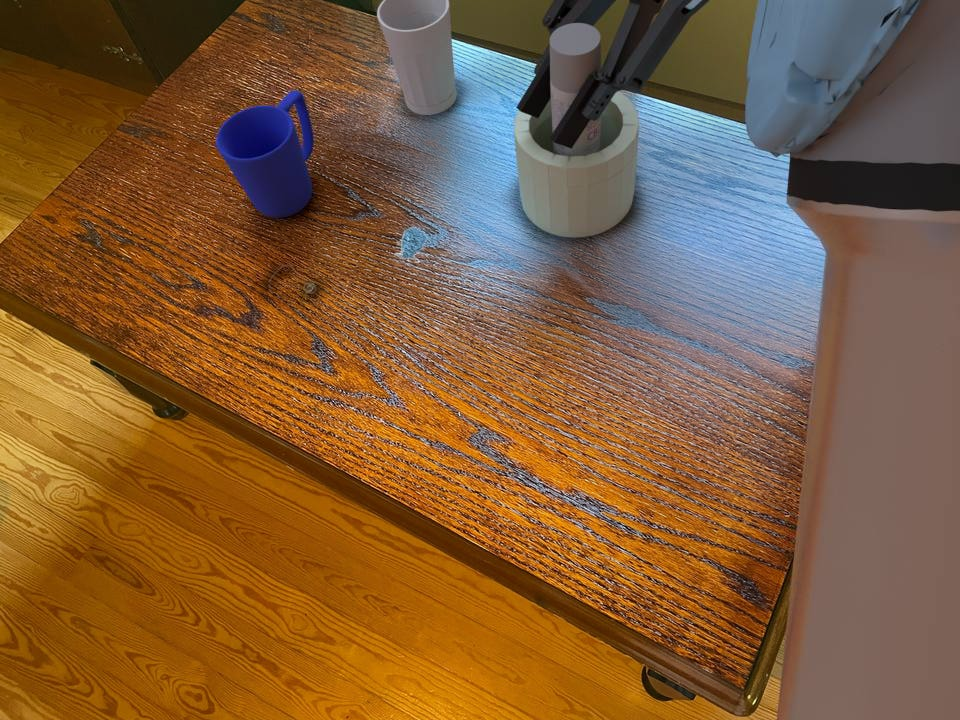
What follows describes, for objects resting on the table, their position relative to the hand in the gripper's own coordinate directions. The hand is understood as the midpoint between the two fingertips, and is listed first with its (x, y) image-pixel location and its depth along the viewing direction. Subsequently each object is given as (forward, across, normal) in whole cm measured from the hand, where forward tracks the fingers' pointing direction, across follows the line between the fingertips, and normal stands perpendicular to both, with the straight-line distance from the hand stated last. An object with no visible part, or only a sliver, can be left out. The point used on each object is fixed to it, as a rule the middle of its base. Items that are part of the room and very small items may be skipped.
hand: (544, 127), depth 74 cm
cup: (+9, +24, -8) cm, 27 cm away
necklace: (+27, +9, +11) cm, 30 cm away
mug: (+23, +21, +6) cm, 32 cm away
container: (+3, 0, -8) cm, 8 cm away
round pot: (+6, 0, -11) cm, 12 cm away
